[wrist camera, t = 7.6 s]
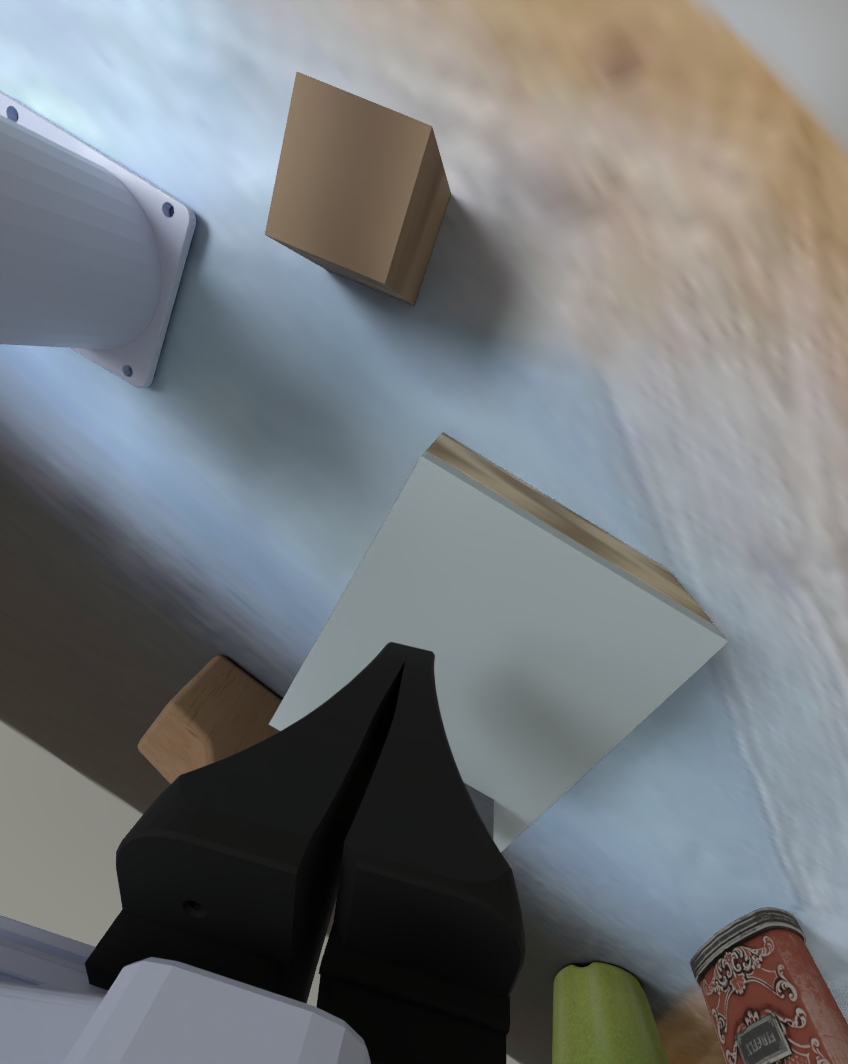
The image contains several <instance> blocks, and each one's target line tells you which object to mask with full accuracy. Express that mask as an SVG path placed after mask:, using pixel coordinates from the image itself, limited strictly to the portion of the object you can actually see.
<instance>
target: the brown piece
mask: <svg viewBox="0 0 848 1064" xmlns="http://www.w3.org/2000/svg"><path fill="white" fill-rule="evenodd" d="M427 451H428V452H429V453H431V454H433V455H434V456H436V457H437V458H439V459H441V460H442V461H444V462H446V463H447V464H449V465H451V466H452V467H454V468H456V469H457V470H459V471H461V472H462V473H464V474H466V475H467V476H469V477H471V478H472V479H474V480H475V481H477V482H479V483H480V484H482V485H484V486H485V487H487V488H489V489H490V490H492V491H494V492H495V493H497V494H499V495H500V496H502V497H504V498H505V499H507V500H509V501H510V502H512V503H513V504H515V505H517V506H518V507H520V508H522V509H523V510H525V511H527V512H528V513H530V514H532V515H533V516H535V517H537V518H538V519H540V520H542V521H543V522H545V523H547V524H548V525H550V526H551V527H553V528H555V529H556V530H558V531H560V532H561V533H563V534H565V535H566V536H568V537H570V538H571V539H573V540H575V541H576V542H578V543H580V544H581V545H583V546H585V547H586V548H588V549H589V550H591V551H593V552H594V553H596V554H598V555H599V556H601V557H603V558H604V559H606V560H608V561H609V562H611V563H613V564H614V565H616V566H618V567H619V568H621V569H622V570H624V571H626V572H627V573H629V574H631V575H632V576H634V577H636V578H637V579H639V580H641V581H642V582H644V583H646V584H647V585H649V586H651V587H652V588H654V589H656V590H657V591H659V592H660V593H662V594H664V595H665V596H667V597H669V598H670V599H672V600H674V601H675V602H677V603H679V604H680V605H682V606H684V607H685V608H687V609H689V610H690V611H692V612H694V613H695V614H697V615H698V616H700V617H702V618H703V619H705V620H707V621H708V622H710V623H713V622H712V621H711V620H710V619H709V618H708V616H707V615H706V614H705V613H704V612H703V611H702V609H701V608H700V607H699V606H698V605H697V603H696V602H695V601H694V600H693V599H692V597H691V596H690V595H689V594H688V593H687V591H686V590H685V589H684V588H683V587H682V585H681V584H680V583H679V582H678V581H677V579H676V578H675V577H674V576H673V575H672V573H671V572H670V571H669V570H668V569H666V568H665V567H663V566H661V565H660V564H658V563H656V562H655V561H653V560H652V559H650V558H648V557H647V556H645V555H643V554H642V553H640V552H638V551H637V550H635V549H633V548H632V547H630V546H629V545H627V544H625V543H624V542H622V541H620V540H619V539H617V538H615V537H614V536H612V535H610V534H609V533H607V532H606V531H604V530H602V529H601V528H599V527H597V526H596V525H594V524H592V523H591V522H589V521H587V520H586V519H584V518H582V517H581V516H579V515H578V514H576V513H574V512H573V511H571V510H569V509H568V508H566V507H564V506H563V505H561V504H559V503H558V502H556V501H555V500H553V499H551V498H550V497H548V496H546V495H545V494H543V493H541V492H540V491H538V490H536V489H535V488H533V487H532V486H530V485H528V484H527V483H525V482H523V481H522V480H520V479H518V478H517V477H515V476H513V475H512V474H510V473H509V472H507V471H505V470H504V469H502V468H500V467H499V466H497V465H495V464H494V463H492V462H490V461H489V460H487V459H486V458H484V457H482V456H481V455H479V454H477V453H476V452H474V451H472V450H471V449H469V448H467V447H466V446H464V445H462V444H461V443H459V442H458V441H456V440H454V439H453V438H451V437H449V436H448V435H446V434H444V433H442V434H441V435H440V436H439V437H438V438H437V439H436V441H435V442H434V443H433V444H432V445H431V446H430V447H429V448H428V449H427Z"/></svg>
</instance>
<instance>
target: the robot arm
mask: <svg viewBox="0 0 848 1064" xmlns="http://www.w3.org/2000/svg"><path fill="white" fill-rule="evenodd" d="M17 114H18V121H17ZM171 206H173V208H174V214H173V216H172V217H170V215H169V209H170V207H171ZM195 226H196V218H195V214H194V212H193V211H192V209H191V208H190V207H188V206H187V205H185V204H184V203H182V202H180V201H179V200H177V199H176V198H174V197H172V196H171V195H169V194H167V193H166V192H164V191H163V190H161V189H159V188H158V187H156V186H154V185H153V184H151V183H150V182H148V181H146V180H145V179H143V178H141V177H140V176H138V175H137V174H135V173H133V172H132V171H130V170H128V169H127V168H125V167H124V166H122V165H120V164H119V163H117V162H115V161H114V160H112V159H111V158H109V157H107V156H106V155H104V154H102V153H101V152H99V151H98V150H96V149H94V148H93V147H91V146H89V145H88V144H86V143H85V142H83V141H81V140H80V139H78V138H76V137H75V136H73V135H72V134H70V133H68V132H67V131H65V130H63V129H62V128H60V127H59V126H57V125H55V124H54V123H52V122H50V121H49V120H47V119H46V118H44V117H42V116H41V115H39V114H37V113H36V112H34V111H33V110H31V109H29V108H28V107H26V106H25V105H23V104H21V103H20V102H18V101H16V100H15V99H13V98H12V97H10V96H8V95H7V94H5V93H3V92H2V91H0V344H9V345H29V346H49V347H69V348H71V349H73V350H75V351H77V352H78V353H80V354H82V355H83V356H85V357H87V358H88V359H90V360H92V361H93V362H95V363H97V364H98V365H100V366H102V367H103V368H105V369H107V370H109V371H110V372H112V373H114V374H115V375H117V376H119V377H120V378H122V379H124V380H125V381H127V382H129V383H130V384H132V385H134V386H136V387H138V388H145V387H149V386H150V385H151V383H152V381H153V377H154V374H155V370H156V367H157V363H158V359H159V356H160V352H161V348H162V345H163V341H164V338H165V334H166V330H167V327H168V323H169V320H170V316H171V312H172V309H173V305H174V302H175V298H176V294H177V291H178V287H179V284H180V280H181V276H182V273H183V269H184V266H185V262H186V258H187V255H188V251H189V248H190V244H191V240H192V237H193V233H194V229H195ZM129 367H131V368H132V370H133V374H132V375H131V374H130V372H129ZM434 660H435V655H434V653H433V652H432V651H428V650H424V649H420V648H416V647H411V646H407V645H403V644H399V643H394V642H390V643H388V644H386V646H385V647H384V648H383V649H382V650H381V652H380V653H379V654H378V655H377V656H376V657H375V658H374V659H373V660H372V661H371V662H370V663H369V664H368V665H367V666H366V667H365V668H364V669H363V670H362V671H361V672H360V673H359V674H358V675H357V676H356V677H355V678H353V679H352V680H351V681H350V682H349V683H348V684H347V685H346V686H344V687H343V688H342V689H341V690H339V691H338V692H337V693H336V694H334V695H333V696H332V697H331V698H330V699H328V700H327V701H326V702H324V703H323V704H322V705H320V706H319V707H318V708H316V709H315V710H313V711H312V712H310V713H309V714H307V715H306V716H304V717H303V718H301V719H300V720H298V721H297V722H295V723H293V724H292V725H290V726H288V727H287V728H285V729H283V730H282V731H280V732H278V733H276V734H275V735H273V736H271V737H269V738H267V739H265V740H263V741H261V742H259V743H257V744H255V745H253V746H251V747H249V748H247V749H245V750H243V751H241V752H238V753H236V754H234V755H232V756H229V757H227V758H225V759H222V760H220V761H217V762H214V763H212V764H209V765H206V766H204V767H201V768H198V769H196V770H193V771H190V772H187V773H184V774H181V775H179V776H178V777H177V778H176V780H175V781H174V782H173V783H172V784H171V785H170V786H169V787H168V788H167V789H166V790H165V791H164V792H163V793H162V794H161V795H160V796H159V797H158V798H157V799H156V800H155V801H154V802H153V803H152V805H151V806H150V807H149V808H148V809H147V811H146V812H145V813H144V814H143V816H142V817H141V818H140V819H139V821H138V822H137V823H136V824H135V826H134V827H133V828H132V829H131V830H130V832H129V833H128V834H127V835H126V837H125V838H124V839H123V840H122V842H121V844H120V845H119V847H118V849H117V852H116V870H117V876H118V882H119V889H120V894H121V901H122V908H123V909H122V911H121V913H120V914H119V915H118V916H117V918H116V919H115V921H114V922H113V924H112V925H111V926H110V928H109V929H108V931H107V932H106V934H105V935H104V936H103V938H102V939H101V940H100V942H99V943H98V945H97V946H96V947H94V946H91V945H88V944H85V943H82V942H79V941H76V940H73V939H70V938H67V937H64V936H61V935H58V934H55V933H52V932H49V931H46V930H43V929H40V928H37V927H34V926H31V925H28V924H25V923H22V922H19V921H16V920H13V919H10V918H7V917H4V916H1V915H0V1064H506V1034H508V1032H509V1027H510V994H511V992H512V989H513V987H514V984H515V982H516V980H517V977H518V975H519V973H520V970H521V968H522V965H523V962H524V956H525V936H524V928H523V921H522V914H521V908H520V903H519V899H518V894H517V889H516V885H515V881H514V877H513V873H512V870H511V868H510V866H509V865H508V863H507V862H506V860H505V858H504V857H503V855H502V854H501V852H500V851H499V849H498V847H497V846H496V844H495V842H494V841H493V839H492V837H491V835H490V834H489V832H488V830H487V828H486V826H485V825H484V823H483V821H482V819H481V817H480V815H479V814H478V812H477V810H476V808H475V805H474V803H473V801H472V799H471V797H470V795H469V793H468V791H467V788H466V786H465V784H464V782H463V780H462V778H461V775H460V773H459V770H458V768H457V765H456V762H455V760H454V757H453V754H452V751H451V748H450V745H449V742H448V739H447V736H446V732H445V729H444V725H443V721H442V717H441V713H440V708H439V703H438V698H437V692H436V685H435V675H434ZM336 898H337V900H336ZM335 901H336V908H335V916H334V923H333V926H332V929H331V932H330V936H329V939H328V942H327V945H326V949H325V952H324V955H323V958H322V961H321V966H320V969H319V974H321V975H320V984H319V992H318V1000H317V1007H315V1006H312V1005H309V1004H306V1003H307V1000H308V996H309V992H310V989H311V985H312V981H313V978H314V974H315V971H316V967H317V964H318V960H319V957H320V953H321V950H322V946H323V943H324V939H325V936H326V932H327V929H328V925H329V922H330V918H331V915H332V911H333V908H334V904H335Z"/></svg>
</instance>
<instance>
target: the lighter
mask: <svg viewBox="0 0 848 1064" xmlns="http://www.w3.org/2000/svg"><path fill="white" fill-rule="evenodd" d="M805 943H806V939H805V936H804V934H803V932H802V930H801V928H800V926H799V925H798V923H797V921H796V919H795V918H794V917H793V916H792V915H791V914H789V913H788V912H786V911H783V910H780V909H776V908H761V909H758V910H755V911H753V912H751V913H749V914H747V915H745V916H743V917H741V918H739V919H737V920H735V921H734V922H732V923H731V924H729V925H728V926H726V927H725V928H723V929H722V930H720V931H719V932H717V933H716V934H715V935H713V936H712V937H711V938H710V939H709V940H708V941H707V942H706V943H705V944H704V945H703V946H702V947H701V948H700V949H699V950H698V952H697V953H696V954H695V955H694V957H693V958H692V959H691V962H690V964H691V967H692V970H693V974H694V977H695V980H696V983H697V985H698V986H699V987H700V988H701V989H702V992H703V995H704V998H705V1001H706V1004H707V1007H708V1010H709V1013H710V1017H711V1020H712V1023H713V1026H714V1029H715V1032H716V1035H717V1038H718V1041H719V1044H720V1047H721V1051H722V1054H723V1057H724V1060H725V1063H726V1064H848V1024H847V1022H846V1021H845V1019H844V1017H843V1015H842V1013H841V1011H840V1009H839V1007H838V1005H837V1004H836V1002H835V1000H834V998H833V996H832V994H831V992H830V990H829V988H828V987H827V985H826V983H825V981H824V979H823V977H822V975H821V973H820V971H819V970H818V968H817V966H816V964H815V962H814V960H813V958H812V956H811V954H810V952H809V951H808V949H807V947H806V945H805Z"/></svg>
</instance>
